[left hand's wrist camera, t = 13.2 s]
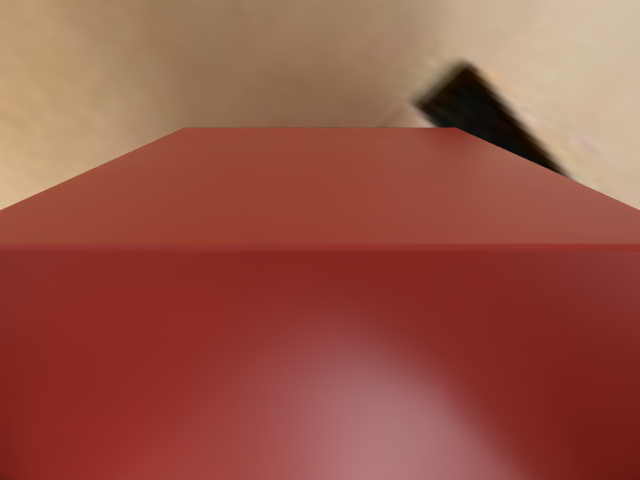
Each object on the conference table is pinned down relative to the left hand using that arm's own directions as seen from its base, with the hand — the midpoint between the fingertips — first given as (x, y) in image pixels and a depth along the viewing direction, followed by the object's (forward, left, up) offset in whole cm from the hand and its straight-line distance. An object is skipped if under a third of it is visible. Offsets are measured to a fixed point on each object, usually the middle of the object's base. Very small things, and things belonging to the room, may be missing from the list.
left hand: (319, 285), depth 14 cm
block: (0, 0, -2) cm, 2 cm away
